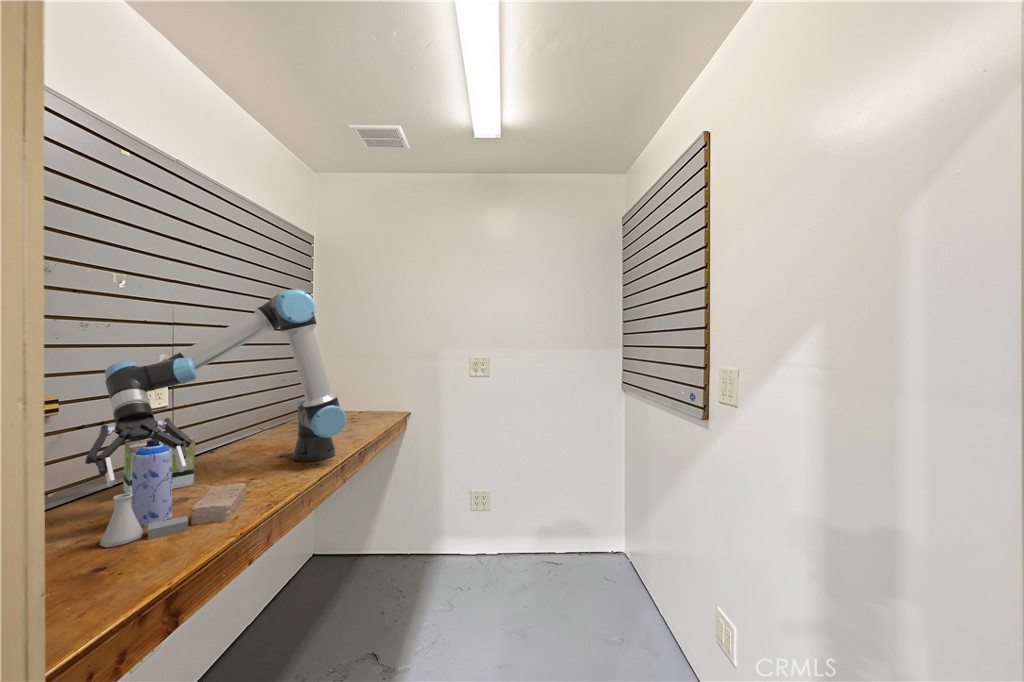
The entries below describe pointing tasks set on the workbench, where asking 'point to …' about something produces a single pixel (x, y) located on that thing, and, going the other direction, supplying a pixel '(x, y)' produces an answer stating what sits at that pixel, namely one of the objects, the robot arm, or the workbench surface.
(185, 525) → the block
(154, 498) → the aerosol can
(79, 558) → the workbench surface
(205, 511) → the brick
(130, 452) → the tea box
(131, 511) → the flask
